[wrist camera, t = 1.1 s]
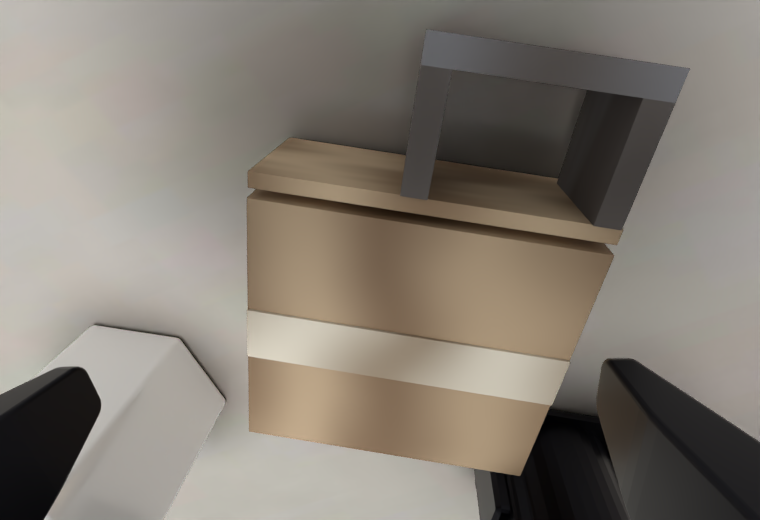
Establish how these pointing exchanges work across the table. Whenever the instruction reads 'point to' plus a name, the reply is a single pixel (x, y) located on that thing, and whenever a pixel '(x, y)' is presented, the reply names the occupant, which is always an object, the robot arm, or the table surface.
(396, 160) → the flap
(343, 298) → the carton
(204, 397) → the jar
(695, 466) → the robot arm
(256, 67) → the table surface
